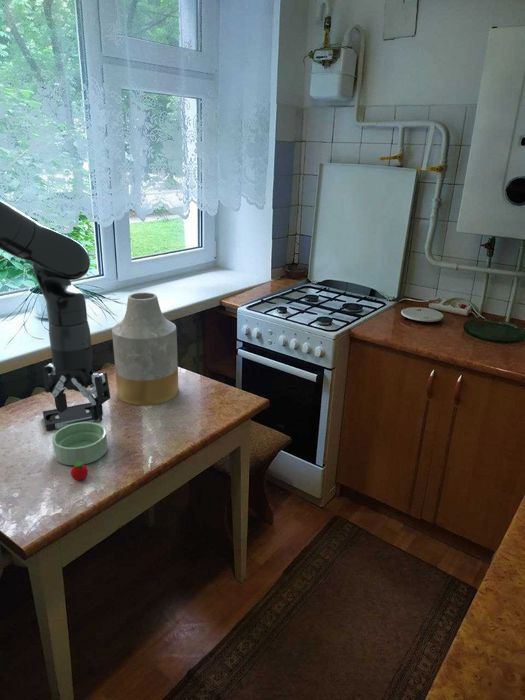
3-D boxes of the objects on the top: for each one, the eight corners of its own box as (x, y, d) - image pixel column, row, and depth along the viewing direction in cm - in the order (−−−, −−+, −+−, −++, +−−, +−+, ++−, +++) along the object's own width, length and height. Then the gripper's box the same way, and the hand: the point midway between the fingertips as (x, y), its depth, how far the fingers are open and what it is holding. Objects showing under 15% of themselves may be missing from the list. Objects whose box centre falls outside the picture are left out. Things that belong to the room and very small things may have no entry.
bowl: (88, 471, 114) (86, 453, 112) (43, 461, 117) (40, 443, 115) (117, 444, 125) (115, 426, 123) (75, 435, 128) (73, 418, 126)
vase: (104, 395, 149) (94, 298, 138) (145, 374, 164) (140, 284, 153) (151, 411, 141) (145, 309, 130) (190, 387, 156) (188, 293, 145)
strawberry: (82, 485, 110) (80, 470, 108) (68, 481, 110) (66, 466, 109) (91, 475, 113) (90, 461, 111) (78, 472, 114) (76, 458, 112)
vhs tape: (46, 431, 129) (45, 424, 129) (43, 417, 136) (42, 411, 135) (102, 420, 136) (101, 413, 135) (97, 407, 142) (96, 401, 141)
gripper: (27, 343, 96) (39, 416, 102) (89, 354, 92) (97, 430, 98) (54, 331, 102) (63, 401, 108) (113, 341, 98) (119, 413, 104)
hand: (79, 414), depth 103 cm, fingers open, 8 cm apart
